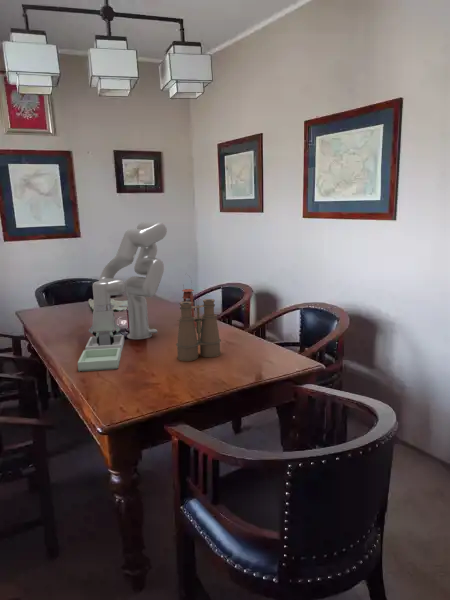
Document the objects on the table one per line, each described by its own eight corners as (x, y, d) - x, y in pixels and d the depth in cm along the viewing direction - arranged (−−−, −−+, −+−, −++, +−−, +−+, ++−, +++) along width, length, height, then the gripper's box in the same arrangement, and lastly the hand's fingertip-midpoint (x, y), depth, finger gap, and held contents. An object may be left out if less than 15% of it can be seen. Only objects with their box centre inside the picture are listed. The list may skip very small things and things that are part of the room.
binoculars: (180, 362, 191) (178, 306, 185) (173, 355, 200) (171, 301, 194) (224, 355, 199) (223, 301, 193) (216, 348, 208) (214, 296, 202)
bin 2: (121, 356, 200) (120, 347, 199) (117, 368, 185) (117, 359, 184) (84, 358, 198) (83, 350, 197) (78, 371, 182) (77, 362, 182)
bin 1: (124, 342, 219) (123, 334, 219) (121, 353, 204) (121, 344, 203) (91, 344, 217) (90, 336, 216) (86, 355, 202) (85, 347, 201)
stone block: (111, 345, 213) (110, 331, 212) (110, 348, 208) (109, 334, 207) (101, 345, 212) (100, 331, 211) (99, 349, 208) (98, 334, 206)
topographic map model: (140, 300, 317) (139, 293, 316) (149, 309, 290) (149, 301, 289) (88, 305, 303) (88, 298, 302) (93, 315, 277) (93, 307, 276)
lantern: (177, 327, 244) (175, 273, 238) (185, 322, 254) (183, 271, 247) (193, 328, 241) (191, 274, 234) (201, 324, 250) (199, 271, 244)
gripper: (122, 304, 211) (124, 341, 215) (85, 306, 209) (88, 343, 213) (120, 308, 204) (123, 346, 208) (82, 310, 201) (86, 348, 205)
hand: (105, 344), depth 210 cm, fingers closed on stone block, 5 cm apart
